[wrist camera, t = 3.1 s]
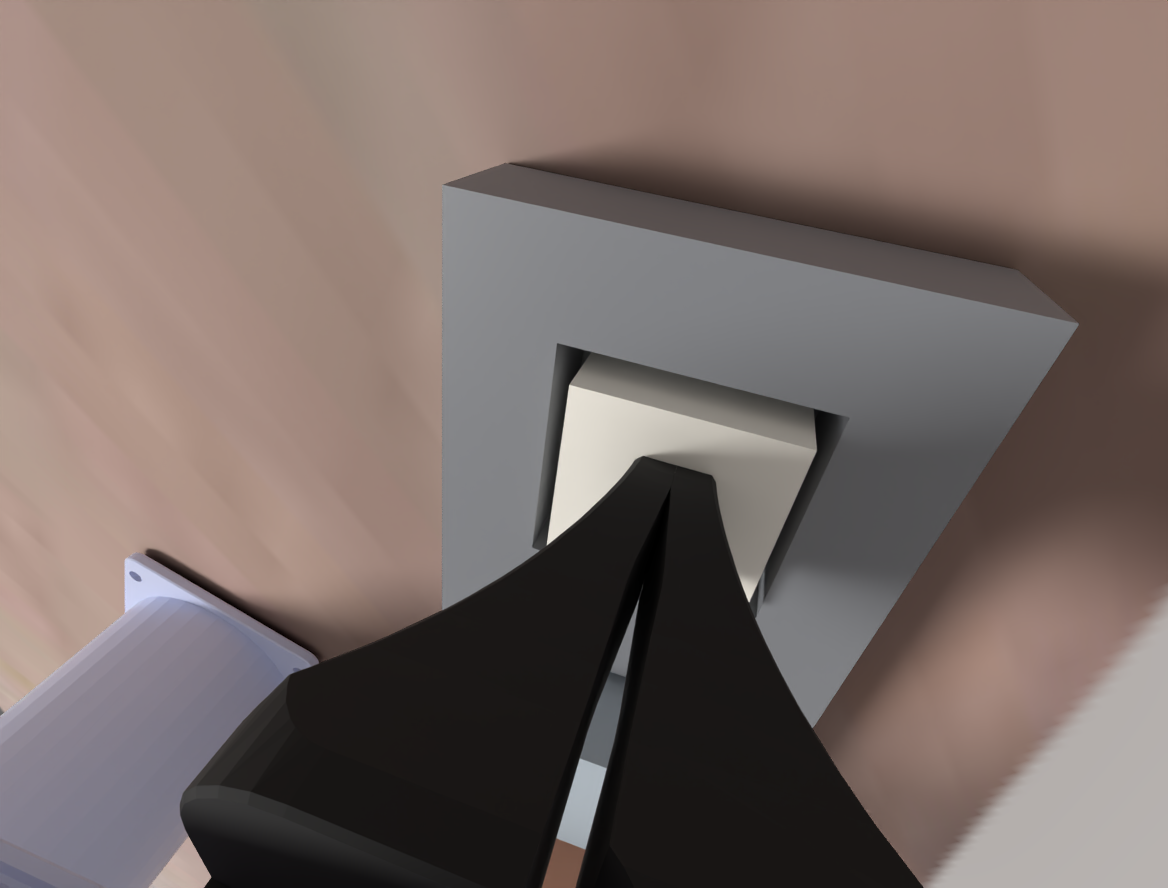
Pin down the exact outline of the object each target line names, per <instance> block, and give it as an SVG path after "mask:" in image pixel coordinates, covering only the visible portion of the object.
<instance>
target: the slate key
mask: <svg viewBox="0 0 1168 888" xmlns="http://www.w3.org/2000/svg"><path fill="white" fill-rule="evenodd" d="M625 679H626V677H624V676H621V675H618V674H615V673H612V672H610V674H609V676H608V679H607V681H606V684H605V686H604V689H603V691H602V694H601V696H600V699H599V701H598V704H597V706H596V709H595V712H594V715H593V718H592V721H591V724H590V727H589V729H588V732H587V736H586V739H585V743H584V746H583V749H582V753H581V756H580V760H579V763H578V766H577V770H576V773H575V776H574V780H573V783H572V787H571V790H570V793H569V797H568V800H567V804H566V807H565V810H564V814H563V817H562V821H561V824H560V828H559V831H558V834H557V839H559V840H562V841H565V842H567V843H570V844H572V845H575V846H577V847H580V848H582V849H586V846H587V842H588V838H589V834H590V830H591V827H592V823H593V819H594V815H595V812H596V808H597V804H598V800H599V796H600V793H601V789H602V785H603V781H604V777H605V773H606V770H607V766H608V762H609V758H610V754H611V751H612V747H613V743H614V739H615V734H616V729H617V724H618V720H619V715H620V709H621V703H622V697H623V691H624V685H625Z"/></svg>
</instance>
